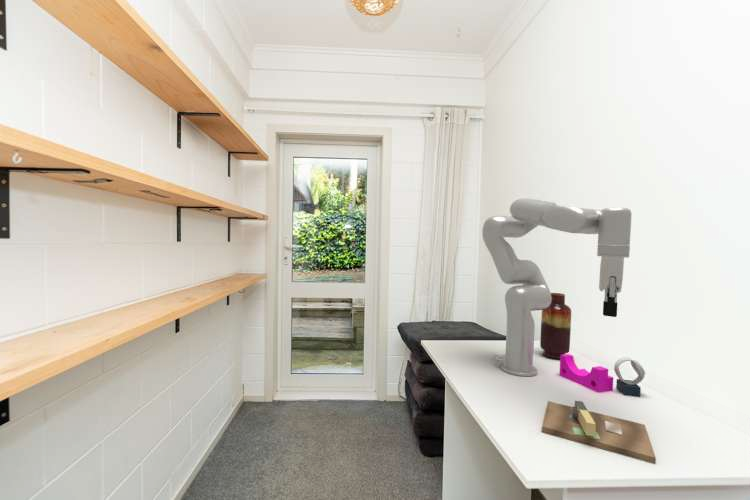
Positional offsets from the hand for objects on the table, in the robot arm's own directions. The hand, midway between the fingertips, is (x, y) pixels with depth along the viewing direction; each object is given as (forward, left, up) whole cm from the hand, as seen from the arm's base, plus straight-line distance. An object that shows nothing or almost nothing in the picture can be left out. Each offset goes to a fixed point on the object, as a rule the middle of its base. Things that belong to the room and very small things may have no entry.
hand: (609, 315), depth 98 cm
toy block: (-5, +19, -28) cm, 34 cm away
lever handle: (-6, -16, -25) cm, 30 cm away
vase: (-16, +45, -27) cm, 55 cm away
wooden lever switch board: (-3, -17, -27) cm, 32 cm away
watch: (+7, +18, -27) cm, 33 cm away
